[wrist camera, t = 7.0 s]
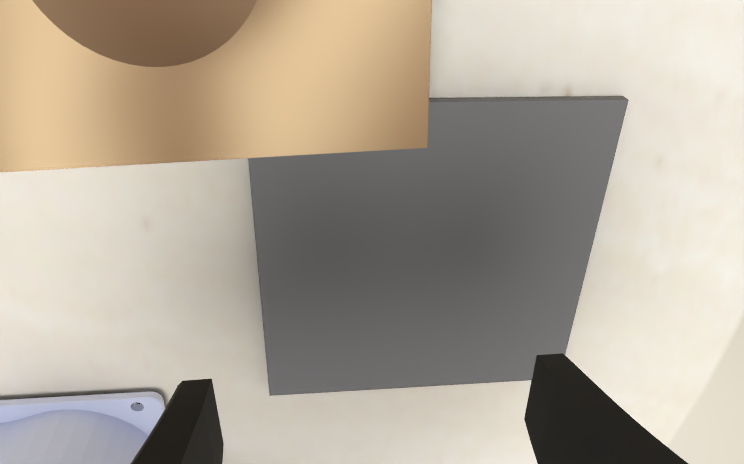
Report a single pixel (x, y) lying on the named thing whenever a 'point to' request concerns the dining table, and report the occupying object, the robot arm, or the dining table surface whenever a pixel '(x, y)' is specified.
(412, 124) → the oak lid
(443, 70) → the dining table surface
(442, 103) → the rubber mat
